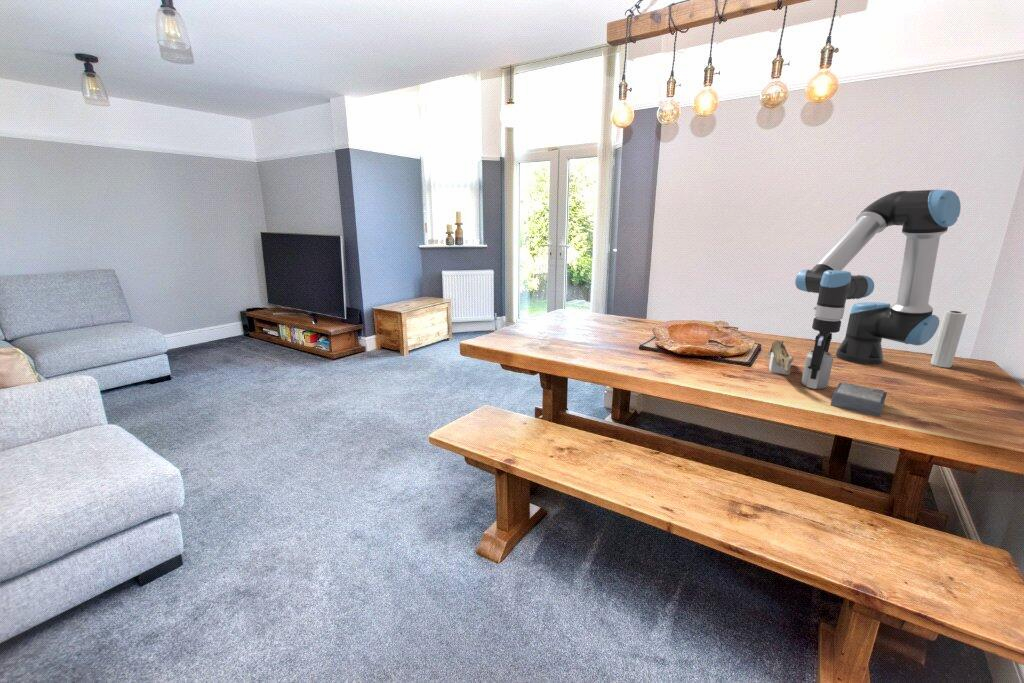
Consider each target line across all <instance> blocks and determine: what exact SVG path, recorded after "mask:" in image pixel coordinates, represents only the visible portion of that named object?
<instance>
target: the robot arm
mask: <svg viewBox="0 0 1024 683" xmlns="http://www.w3.org/2000/svg"><path fill="white" fill-rule="evenodd" d="M960 215H961V201H960V197H959V196H958V194H957V193H956V192H955V191H953V190H950V189H949V190H948V189H923V190H922V189H921V190H899V191H893V192H891V193H888V194H886V195H884V196H881V197H879V198H878V199H876V200H875V201H873V202H872V203H871V204H869V205H868V206H866V207H865V208H864V209H863V210H862V211H861V212H860V213H859V214H858V215H857V216H856V218H855V219H856V220H855V222H854V224H852V226H851V227H850V228H849V229H848V230H846V232H845V233H844V235H842V237H841V238H840V239H839V240H838V241H837V242H836V243H835V244H834V245H833V246H832V247H831V248H830V250H828V252H827V253H826V254H824V256H823V257H822V258H821V259H820V260H819V261H818V262H817V263H816V264H815V266H813V268H811V269H802V270H800V271H799V272H798V273H797V274H796V276H795V278H794V279H795V280H794V284H795V287H796V288H797V289H798V290H799V291H803V292H807V293H813V294H818V296H817V301H816V306H814V307H813V310H814V311H815V312H814V318H813V322H812V326H811V328H812V329H813V330H814V331H816V332H817V331H818V332H819V333H818V334H817V335H816V336H815V339H814V341H815V342H814V347H813V350H814V351H813V355H812V360H811V364H810V367H809V366H808V368H809V369H810V373H809V378H808V383H807V387H806V388H809V387H810V388H809V389H812V388H814V390H818V389H817V384H818V379H819V375H820V366H821V363H822V359H823V355H824V352H828V353H829V350H830V345H831V342H832V339H833V333H834V334H835V333H838V332H840V330H841V327H842V326H841V324H842V321H841V320H842V319H843V317H844V313H845V309H846V301H847V300H855V299H856V300H859V299H862V298H866V297H868V296H870V295H871V294H873V292H874V290H875V282H874V280H873V279H872V277H870V276H867V275H864V274H863V275H862V274H857V275H852V273H851V272H850V271H846V270H844V269H845V268H846V267H847V266H848V264H850V262H851V261H852V260H854V258H855V257H856V256H857V255H858V254H859V253H860V251H861V250H863V248H864V247H865V246H866V245H867V244H868V243H869V242H870V241H871V240H872V239H873V237H875V236H876V235H877V234H880V233H881V232H883V231H884V230H886V228H888V227H891V226H902V227H901V228H902V229H901V233H902V234H903V235H905V237H906V240H905V241H906V242H905V247H904V252H903V261H902V266H901V272H900V280H899V285H898V286H899V287H898V290H897V298H896V302H895V303H893V304H890V303H887V302H876V301H875V302H872V301H871V302H870V301H869V302H868V301H867V302H857V303H854V304H853V305H852V306H851V309H850V312H849V316H848V321H847V327H846V332H845V337H844V339H843V340H842V342H841V343H840V345H839V347H838V348H837V350H836V352H835V357H836V358H837V359H841V360H843V361H847V362H850V363H855V364H861V365H880V364H882V363H883V360H884V353H883V348H882V347H883V346H882V340H883V339H884V340H889V341H893V342H898V343H902V344H905V345H913V346H923V345H925V344H927V343H928V342H929V341H930V340H931V339H932V338H933V337H934V336H935V334H936V332H937V330H938V328H939V325H940V318H939V316H937V315H935V314H933V312H934V308H933V307H932V306H931V305H930V303H929V301H930V295H931V290H932V285H933V279H934V274H935V268H936V261H937V258H938V256H937V255H938V250H939V244H940V238H941V237H942V236H943V234H945V233H946V232H948V228H949V227H952V226H953V225H955V224H956V223H957V221H958V218H959V217H960ZM815 365H816V366H815Z"/></svg>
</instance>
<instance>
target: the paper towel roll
mask: <svg viewBox="0 0 1024 683" xmlns="http://www.w3.org/2000/svg"><path fill="white" fill-rule="evenodd" d="M967 315H968V313H966V312H964V311H961V310H959V311H957V310H944V313H943V317H942V320H941V324H940V328H939V331H938V335H937V338H936V340H935V342H936V343H935V345H934V349H933V353H932V356H931V359H930V364H931V365H932V366H935V367H939V368H940V367H941V368H947V369H948V368H952V366H953V362H954V359H955V356H956V352H957V351H958V350H957V349H958V346H959V342H960V339H961V336H962V332H963V329H964V326H965V322H966V318H967Z"/></svg>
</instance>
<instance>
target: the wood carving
mask: <svg viewBox="0 0 1024 683" xmlns="http://www.w3.org/2000/svg"><path fill="white" fill-rule="evenodd" d="M794 357H795V356H791V354H789V353H788V350H787V349H786V346H785V344H784V340H781V341H780V340H774V341H773V342H772V345H771V348H770V349H769V351H768V353H767V354H766V355H765V357H764V359H769V366H768V369H769V372H770V373H772V374H773V373H775V374H782V375H788V376H789V375H790V374H791V367H792V363H793V361H794Z"/></svg>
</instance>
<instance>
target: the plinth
mask: <svg viewBox="0 0 1024 683" xmlns="http://www.w3.org/2000/svg"><path fill="white" fill-rule="evenodd" d="M887 394H888V392H887V391H884V390H882V389H877V388H872V387H868V386H865V385H860V384H854V383H849V382H845V381H844V382H843V381H842V382H839V383H838V384H837V386H836V388H835V389H834V391H833V392H832V397H831V401H830V406H833V407H837V408H841V409H846V410H849V411H854V412H857V413H863V414H866V415H871V416H875V417H882V416H881V415H882V412H883V409H884V407H885V402H886V398H887Z"/></svg>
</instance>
